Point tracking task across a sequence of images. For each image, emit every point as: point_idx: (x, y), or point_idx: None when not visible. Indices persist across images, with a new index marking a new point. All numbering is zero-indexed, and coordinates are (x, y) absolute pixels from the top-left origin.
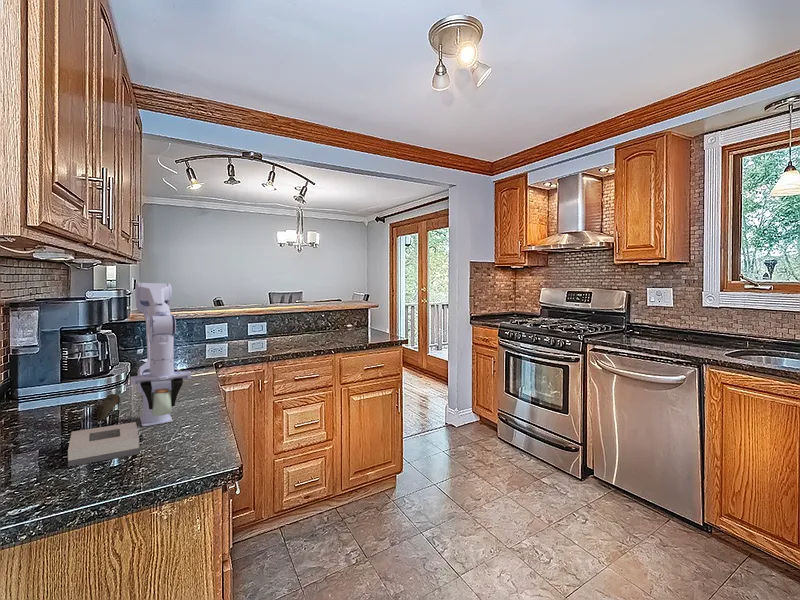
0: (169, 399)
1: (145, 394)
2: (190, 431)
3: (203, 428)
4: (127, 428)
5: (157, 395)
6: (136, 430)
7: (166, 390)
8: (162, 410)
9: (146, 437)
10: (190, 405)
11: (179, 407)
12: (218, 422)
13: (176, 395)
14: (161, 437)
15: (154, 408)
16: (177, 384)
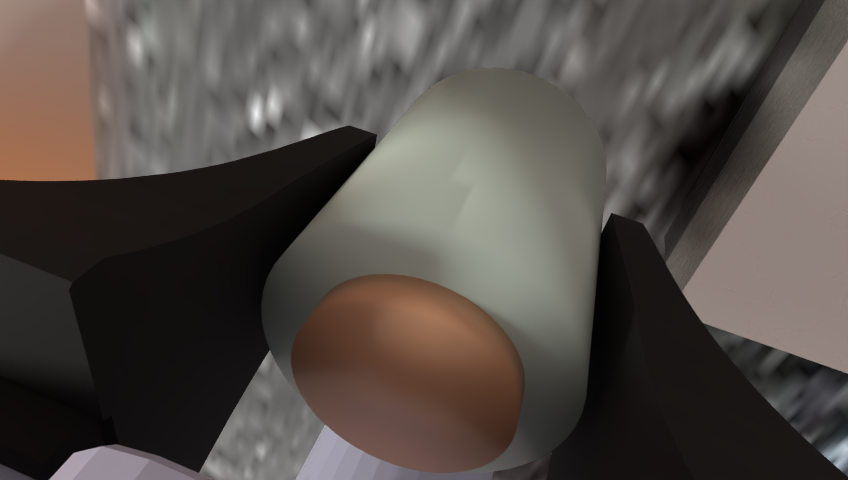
0: (374, 162)
1: (765, 407)
2: (329, 18)
3: (234, 8)
4: (845, 206)
5: (546, 273)
6: (845, 66)
7: (346, 297)
8: (522, 95)
9: (627, 153)
10: (231, 426)
11: (281, 442)
12: (125, 55)
13: (244, 164)
14: (548, 59)
15: (598, 187)
16: (38, 218)
